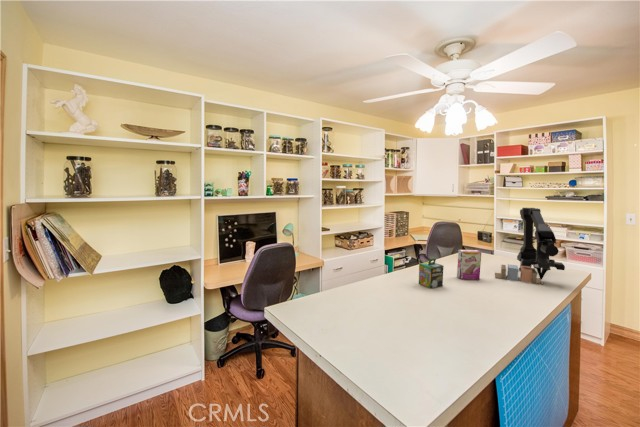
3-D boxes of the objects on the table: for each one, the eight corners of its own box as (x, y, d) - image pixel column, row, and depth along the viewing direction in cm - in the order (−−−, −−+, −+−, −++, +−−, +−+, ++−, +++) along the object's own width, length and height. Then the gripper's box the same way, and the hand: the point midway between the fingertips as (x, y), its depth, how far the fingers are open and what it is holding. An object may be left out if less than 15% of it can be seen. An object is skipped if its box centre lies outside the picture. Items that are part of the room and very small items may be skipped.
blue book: (507, 275, 172) (508, 264, 172) (516, 276, 170) (517, 265, 169) (507, 279, 165) (508, 267, 165) (517, 280, 163) (518, 268, 162)
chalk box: (430, 281, 164) (431, 255, 162) (443, 286, 155) (444, 259, 154) (417, 283, 160) (418, 257, 158) (430, 288, 151) (431, 261, 150)
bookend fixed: (495, 273, 176) (495, 263, 176) (504, 274, 174) (505, 265, 173) (495, 278, 168) (495, 268, 167) (505, 279, 165) (506, 269, 165)
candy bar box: (459, 279, 166) (461, 251, 164) (456, 276, 171) (457, 249, 169) (480, 280, 165) (481, 251, 163) (476, 277, 170) (477, 249, 168)
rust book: (520, 277, 169) (521, 265, 168) (529, 278, 167) (530, 266, 166) (521, 281, 162) (522, 269, 161) (531, 282, 160) (532, 270, 159)
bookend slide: (529, 278, 168) (530, 267, 167) (540, 279, 165) (541, 269, 164) (531, 283, 159) (532, 272, 158) (543, 284, 156) (543, 274, 156)
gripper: (523, 253, 157) (522, 281, 159) (568, 257, 148) (565, 286, 149) (521, 249, 167) (520, 275, 168) (563, 252, 157) (561, 280, 159)
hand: (540, 279), depth 161 cm, fingers closed
